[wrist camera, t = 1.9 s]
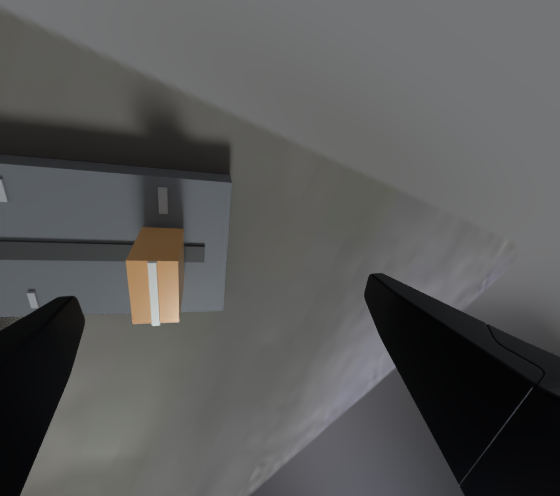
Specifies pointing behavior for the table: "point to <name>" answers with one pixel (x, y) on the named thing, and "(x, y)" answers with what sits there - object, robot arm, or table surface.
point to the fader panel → (104, 231)
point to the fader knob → (156, 275)
